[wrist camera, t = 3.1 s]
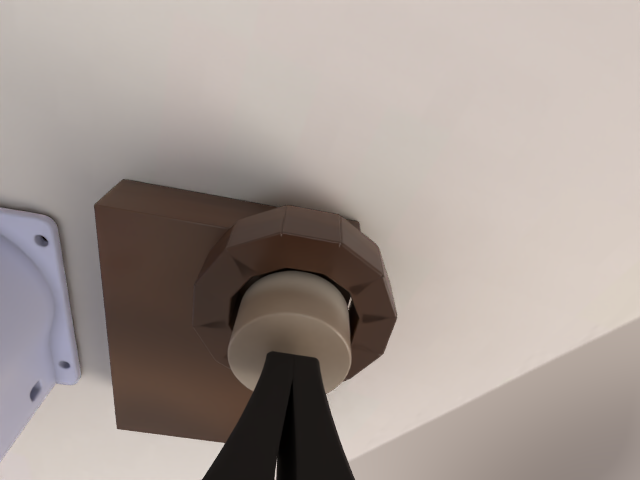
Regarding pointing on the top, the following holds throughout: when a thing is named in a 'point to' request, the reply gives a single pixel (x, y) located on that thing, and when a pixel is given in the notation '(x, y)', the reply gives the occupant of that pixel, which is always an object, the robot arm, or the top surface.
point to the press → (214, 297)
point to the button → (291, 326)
